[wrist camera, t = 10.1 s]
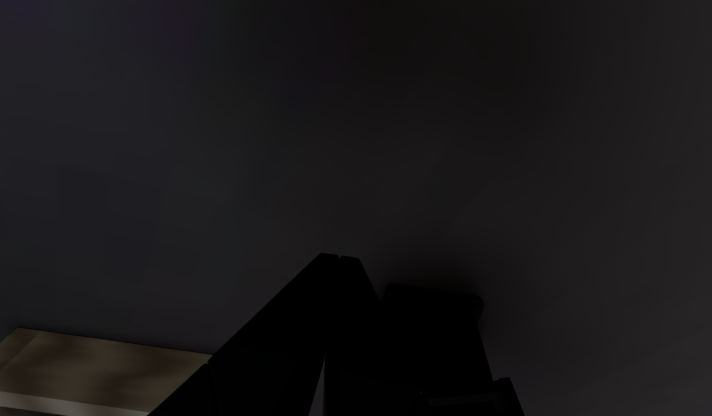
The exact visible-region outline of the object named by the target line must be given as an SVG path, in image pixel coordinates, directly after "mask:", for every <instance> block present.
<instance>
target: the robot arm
mask: <svg viewBox="0 0 712 416" xmlns="http://www.w3.org/2000/svg"><path fill="white" fill-rule="evenodd" d="M390 292H395V293H390ZM473 304H476V305H473ZM483 308H484V304H483V301H482V299H481V298H480V297H477V296H470V295H463V294H456V293H449V292H442V291H434V290H427V289H420V288H413V287H405V286H398V285H389V286H387V287H386V289H385V293H384V298H383V302H382V305H381V303H380V301H379V299H378V297H377V295H376V293H375V290H374V288H373V286H372V284H371V282H370V280H369V278H368V276H367V274H366V272H365V270H364V267H363V265H362V263H361V261H360V260H359V259H358V258H355V257H348V256H341V257H340V258H339V256H338V255H334V254H326V253H320V254H319V255H318V256H317V257H316V258H315V259H313V260H312V261H311V262H310V263H309V264H308V265H307V266H306V267H305V268H304V269H303V270H302V271H301V272H300V273H299V274H298V275H297V276H296V277H295V278H294V279H292V280H291V281H290V282H289V283H288V284H287V285H286V286H285V287H284V288H283V289H282V290H281V291H280V292H279V293H278V294H277V295H276V296H275V297H274V298H273V299H271V300H270V301H269V302H268V303H267V304H266V305H265V306H264V307H263V308H262V309H261V310H260V311H259V312H258V313H257V314H256V315H255V316H254V317H253V318H252V319H250V320H249V321H248V322H247V323H246V324H245V325H244V326H243V327H242V328H241V329H240V330H239V331H238V332H237V333H236V334H235V335H234V336H233V337H232V338H230V339H229V340H228V341H227V342H226V343H225V344H224V345H223V346H222V347H221V348H220V349H219V350H218V351H217V352H216V353H215V354H214V355H213V356H212V357H211V358H209V359H208V364H206V363H204V364H203V365H202V366H201V367H200V368H199V369H198V370H197V371H196V372H194V373H193V374H192V375H191V376H190V377H189V378H188V379H187V380H186V381H185V382H184V383H183V384H182V385H181V386H179V387H178V388H177V389H176V390H175V391H174V392H173V393H172V394H171V395H170V396H168V397H167V398H166V399H165V400H164V401H163V402H162V403H161V404H160V405H159V406H157V407H156V408H155V409H154V410H153V411H152V412H150V413H149V414H148V415H147V416H308V415H309V412H310V408H311V405H312V401H313V398H314V394H315V391H316V387H317V384H318V381H319V377H320V374H321V370H322V366H323V362H324V358H325V369H324V393H323V416H525V415H524V413H523V410H522V408H521V405H520V403H519V400H518V398H517V395H516V393H515V390H514V387H513V385H512V382H511V380H510V377H508V378H499V380H497V381H493V379H492V375H491V372H490V368H489V365H488V361H487V358H486V354H485V351H484V347H483V343H482V340H481V336H480V333H479V329H478V326H477V322H478V320H479V317H480V315H481V312H482V310H483ZM325 353H326V356H325Z"/></svg>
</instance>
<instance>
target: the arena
mask: <svg viewBox="0 0 712 416" xmlns="http://www.w3.org/2000/svg"><path fill="white" fill-rule="evenodd" d="M212 356H213V355H210V354H203V353H196V352H189V351H181V350H174V349H167V348H160V347H153V346H146V345H139V344H132V343H124V342H117V341H110V340H103V339H96V338H89V337H82V336H75V335H67V334H60V333H53V332H46V331H39V330H32V329H25V328H17V329H16V330H14V331H13V332H12V333H11V334H10V335H9V336H8V337H6V338H5V339H4V340H3V341H2V342H1V343H0V416H147V415H148V414H149V413H150V412H152V411H153V410H154V409H155V408H156V407H157V406H159V405H160V404H161V403H162V402H163V401H164V400H165V399H166V398H167V397H168V396H170V395H171V394H172V393H173V392H174V391H175V390H176V389H177V388H178V387H179V386H181V385H182V384H183V383H184V382H185V381H186V380H187V379H188V378H189V377H190V376H191V375H192V374H193V373H194V372H196V371H197V370H198V369H199V368H200V367H201V366H202V365H203V364H204V363H206V364H208V359H209V358H211V357H212Z"/></svg>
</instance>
